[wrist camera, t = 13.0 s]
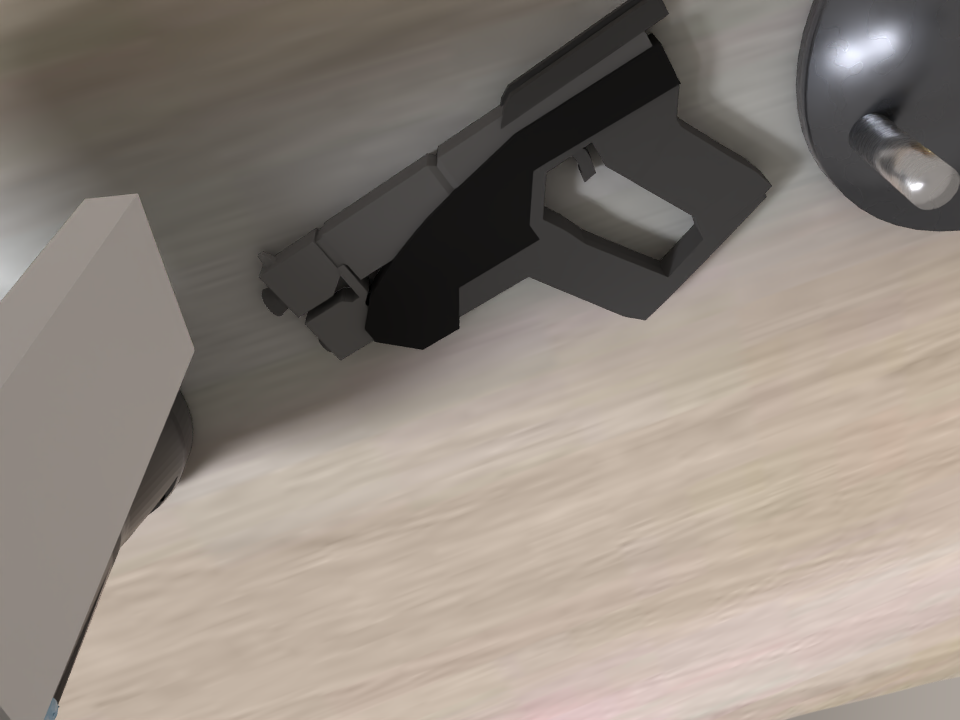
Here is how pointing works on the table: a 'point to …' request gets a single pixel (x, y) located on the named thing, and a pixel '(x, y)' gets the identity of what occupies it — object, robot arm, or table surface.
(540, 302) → the table surface
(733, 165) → the pistol
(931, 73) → the carrier
